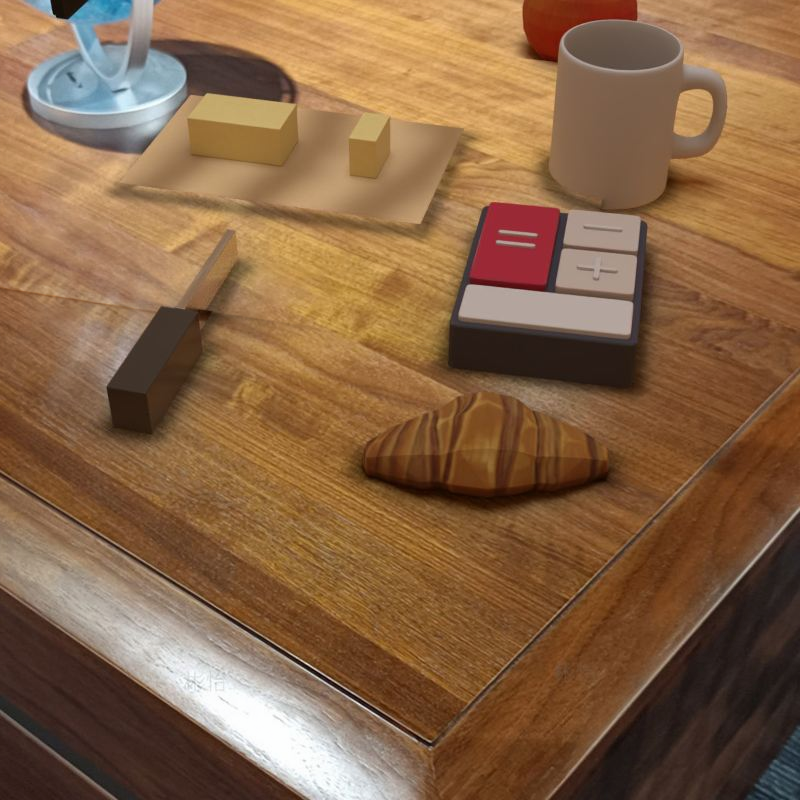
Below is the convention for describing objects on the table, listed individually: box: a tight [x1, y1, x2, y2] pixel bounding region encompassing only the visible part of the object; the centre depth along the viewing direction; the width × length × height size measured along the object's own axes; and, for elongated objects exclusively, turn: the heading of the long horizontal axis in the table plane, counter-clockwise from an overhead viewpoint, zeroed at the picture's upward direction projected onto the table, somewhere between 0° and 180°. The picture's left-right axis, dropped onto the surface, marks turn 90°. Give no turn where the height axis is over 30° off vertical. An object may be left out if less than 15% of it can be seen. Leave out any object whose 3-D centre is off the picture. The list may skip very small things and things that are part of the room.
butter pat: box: [349, 111, 391, 179], centre depth 97 cm, size 2×4×3 cm, turn 166°
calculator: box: [447, 201, 648, 389], centre depth 85 cm, size 11×4×15 cm
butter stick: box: [187, 92, 298, 166], centre depth 99 cm, size 7×4×3 cm, turn 76°
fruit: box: [521, 0, 639, 63], centre depth 111 cm, size 10×10×10 cm
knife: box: [105, 229, 239, 435], centre depth 82 cm, size 17×2×4 cm, turn 166°
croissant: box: [360, 390, 611, 500], centre depth 73 cm, size 14×7×5 cm, turn 89°
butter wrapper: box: [119, 94, 465, 225], centre depth 99 cm, size 22×14×2 cm, turn 76°
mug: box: [548, 20, 728, 210], centre depth 95 cm, size 12×8×11 cm
